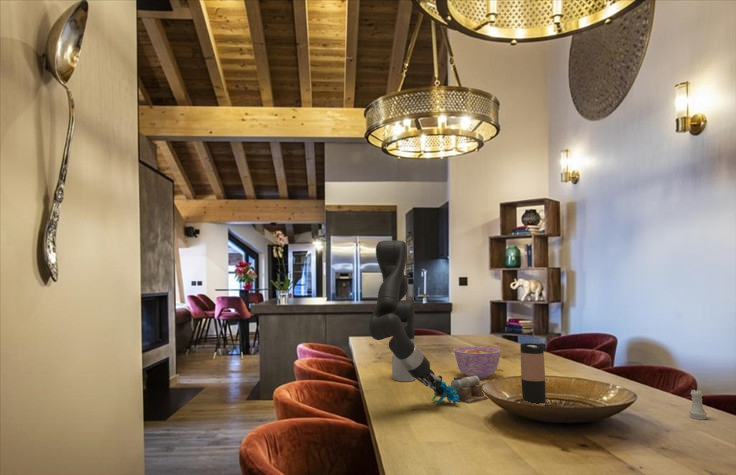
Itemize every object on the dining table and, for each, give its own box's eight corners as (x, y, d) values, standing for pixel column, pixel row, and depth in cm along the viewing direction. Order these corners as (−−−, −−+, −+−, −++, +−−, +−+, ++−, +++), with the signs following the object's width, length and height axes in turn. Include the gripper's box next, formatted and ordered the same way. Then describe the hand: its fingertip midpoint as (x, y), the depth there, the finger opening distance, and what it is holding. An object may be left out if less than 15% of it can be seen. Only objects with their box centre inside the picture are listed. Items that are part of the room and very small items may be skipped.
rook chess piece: (704, 416, 144) (702, 389, 145) (709, 420, 140) (707, 393, 141) (687, 415, 146) (685, 388, 146) (691, 419, 142) (690, 392, 142)
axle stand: (466, 404, 161) (465, 379, 162) (445, 398, 169) (444, 375, 170) (488, 398, 168) (487, 375, 169) (467, 393, 176) (466, 371, 177)
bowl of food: (465, 370, 219) (465, 345, 220) (508, 375, 207) (507, 348, 208) (446, 378, 203) (445, 350, 204) (491, 384, 191) (490, 354, 192)
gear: (466, 400, 159) (447, 378, 158) (456, 414, 156) (438, 392, 155) (446, 398, 169) (429, 378, 167) (437, 411, 166) (419, 391, 165)
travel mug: (528, 400, 165) (526, 342, 166) (550, 404, 159) (547, 344, 161) (518, 405, 159) (515, 345, 161) (539, 409, 154) (537, 347, 156)
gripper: (433, 353, 152) (460, 387, 158) (406, 349, 163) (433, 380, 169) (421, 372, 149) (449, 406, 155) (394, 366, 159) (422, 398, 165)
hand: (440, 392), depth 162 cm, fingers closed
